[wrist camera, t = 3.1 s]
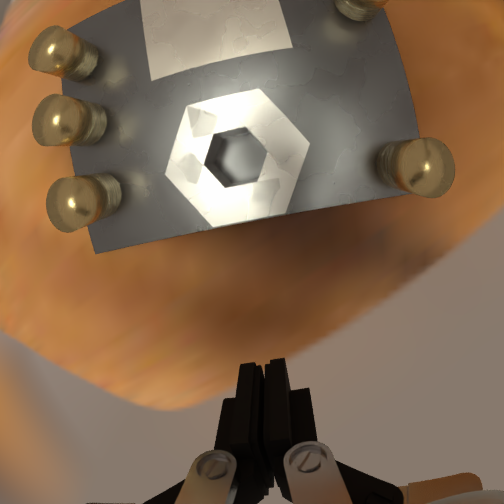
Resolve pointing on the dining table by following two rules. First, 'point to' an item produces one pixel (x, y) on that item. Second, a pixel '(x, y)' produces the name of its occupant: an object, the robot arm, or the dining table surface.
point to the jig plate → (217, 85)
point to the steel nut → (207, 147)
